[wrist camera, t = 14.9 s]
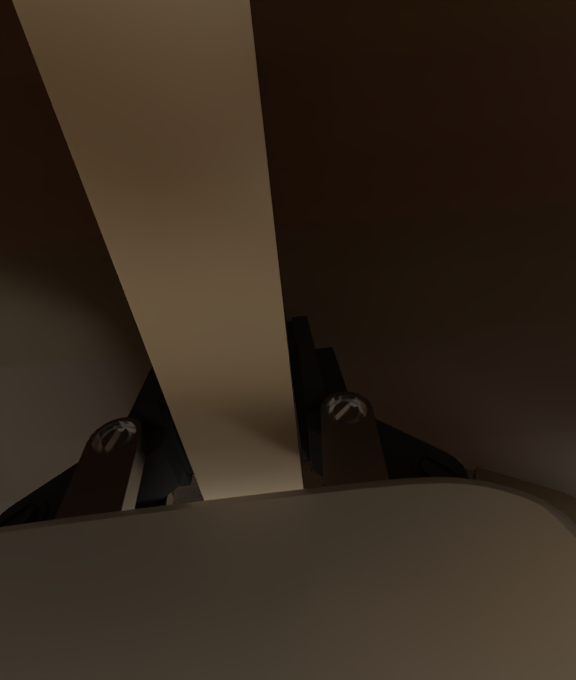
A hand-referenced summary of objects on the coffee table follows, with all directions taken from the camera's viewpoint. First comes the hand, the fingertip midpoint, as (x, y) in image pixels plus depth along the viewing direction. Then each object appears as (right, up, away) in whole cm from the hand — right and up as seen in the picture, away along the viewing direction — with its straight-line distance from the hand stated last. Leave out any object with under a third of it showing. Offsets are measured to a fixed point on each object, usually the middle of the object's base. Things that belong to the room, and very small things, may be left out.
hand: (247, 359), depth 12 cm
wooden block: (0, +1, +1) cm, 2 cm away
